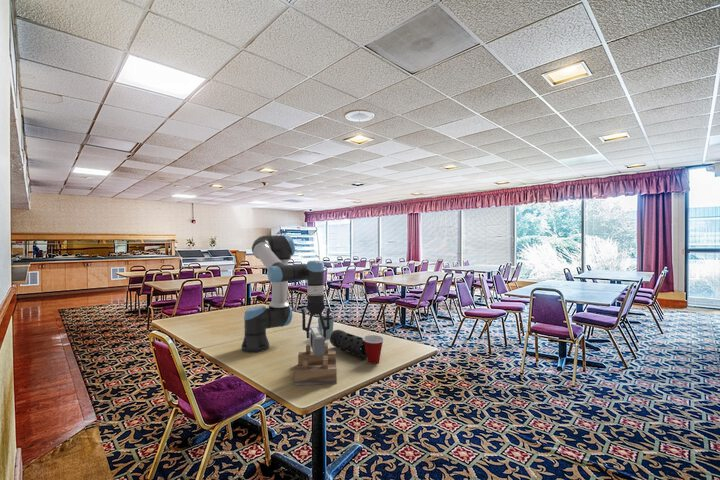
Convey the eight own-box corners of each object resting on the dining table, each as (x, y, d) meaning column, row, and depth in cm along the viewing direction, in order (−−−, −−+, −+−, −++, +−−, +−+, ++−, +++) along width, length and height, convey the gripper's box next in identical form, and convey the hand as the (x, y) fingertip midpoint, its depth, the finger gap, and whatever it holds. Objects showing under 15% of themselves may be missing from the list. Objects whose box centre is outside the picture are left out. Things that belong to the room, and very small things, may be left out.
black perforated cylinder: (359, 361, 175) (358, 341, 175) (328, 348, 197) (327, 330, 197) (373, 357, 181) (373, 337, 181) (341, 345, 203) (341, 327, 203)
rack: (336, 383, 148) (336, 359, 148) (294, 385, 147) (293, 361, 147) (335, 362, 174) (335, 342, 174) (299, 363, 172) (299, 343, 172)
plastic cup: (368, 367, 167) (368, 342, 167) (359, 360, 177) (359, 336, 177) (388, 363, 171) (388, 339, 171) (378, 357, 181) (378, 333, 181)
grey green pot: (320, 334, 225) (320, 316, 225) (335, 335, 224) (335, 316, 224) (316, 339, 215) (316, 320, 215) (332, 339, 214) (332, 320, 214)
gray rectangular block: (314, 355, 149) (314, 338, 149) (309, 342, 170) (308, 327, 170) (325, 354, 150) (324, 337, 150) (318, 341, 171) (317, 326, 171)
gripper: (294, 296, 156) (295, 348, 156) (335, 294, 157) (336, 346, 157) (296, 293, 163) (297, 343, 163) (335, 292, 165) (335, 341, 165)
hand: (316, 344), depth 160 cm, fingers closed on gray rectangular block, 5 cm apart
